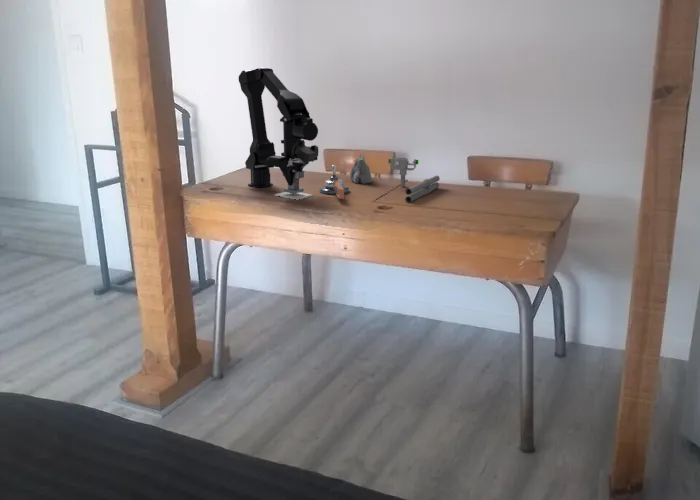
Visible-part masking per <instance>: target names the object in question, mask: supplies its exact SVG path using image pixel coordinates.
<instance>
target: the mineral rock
mask: <svg viewBox="0 0 700 500" xmlns="http://www.w3.org/2000/svg"><path fill="white" fill-rule="evenodd" d="M349 177H350V179H351V180H352V181H353V182H354V183H355V184H358V185H359V184H362V185H365V184H368V183H370V184H371V183H372V182H373V178H372V174H371V170H370V166H369V165H368V164H367V163H366V160H365V157H364V155H363V154H362V153H361V154H360V155H359V156H357V157H356V158H355V160H354V163H353V165H352V166H351V168H350V173H349Z"/></svg>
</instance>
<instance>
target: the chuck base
mask: <svg viewBox="0 0 700 500" xmlns="http://www.w3.org/2000/svg"><path fill="white" fill-rule="evenodd" d="M343 189H344V195H345V194H348V193H349V191H350V187H349V186H348V187H347V186H344V185H343ZM318 191H319V193H321V194H323V195H335V196H337V195H336V193H335V192H334V190H329V189H326V188H325V185H324V186H320V187H319V190H318Z"/></svg>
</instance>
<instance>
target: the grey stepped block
mask: <svg viewBox="0 0 700 500" xmlns="http://www.w3.org/2000/svg"><path fill="white" fill-rule="evenodd" d="M282 177H284V175H283V174H282ZM299 178H300V179H303V178H305V170H302V171H299V170H293V172H292V185H291V186H290V185H288V184H287V187H284V188H283V189H282V190H283V191H282V192H288V193H294V194H296V193H304V192H305V191H304V189H305V188H303V187H300V179H299Z"/></svg>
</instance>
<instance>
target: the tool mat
mask: <svg viewBox="0 0 700 500" xmlns="http://www.w3.org/2000/svg"><path fill="white" fill-rule="evenodd" d="M274 196H275V197H278V196H280V197H279V198H283V199H289V198H290V199H289V200H294V199H296V200H295V201H299V199H300V200H303V199H307V198H311V197H313V194H311V193H305V192H300V193H296V194H294V193H288V192H283V191H282V192H278V193H275V194H274Z"/></svg>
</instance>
